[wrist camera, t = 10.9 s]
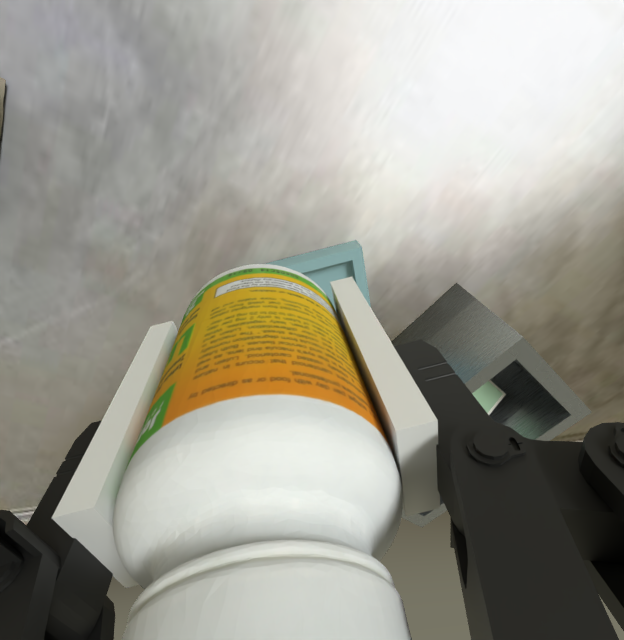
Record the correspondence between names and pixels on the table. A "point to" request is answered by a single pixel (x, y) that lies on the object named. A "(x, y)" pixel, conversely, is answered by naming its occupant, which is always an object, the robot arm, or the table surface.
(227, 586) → the supplement bottle
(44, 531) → the robot arm
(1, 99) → the condiment
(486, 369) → the guard box
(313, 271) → the tray
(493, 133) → the table surface
